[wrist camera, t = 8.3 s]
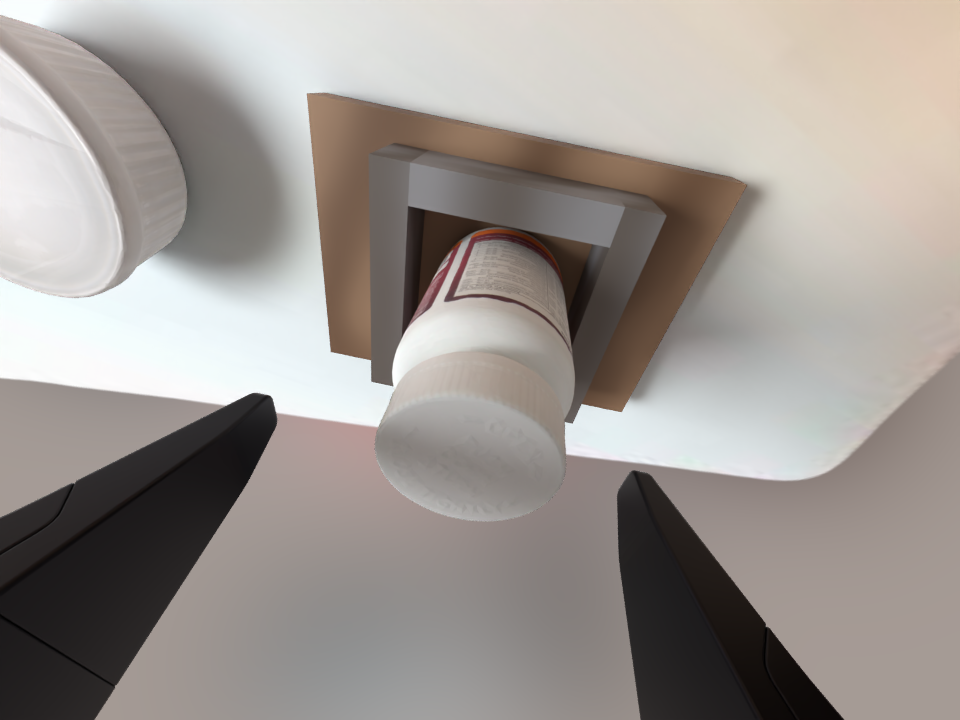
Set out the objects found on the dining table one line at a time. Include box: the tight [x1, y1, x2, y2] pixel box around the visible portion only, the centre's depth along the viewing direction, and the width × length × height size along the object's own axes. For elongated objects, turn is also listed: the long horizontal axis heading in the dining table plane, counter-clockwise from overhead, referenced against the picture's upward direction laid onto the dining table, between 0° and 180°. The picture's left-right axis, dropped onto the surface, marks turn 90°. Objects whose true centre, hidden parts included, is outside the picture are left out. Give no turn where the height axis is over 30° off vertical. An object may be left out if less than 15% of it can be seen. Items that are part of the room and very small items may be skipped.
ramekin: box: [0, 15, 187, 298], centre depth 17 cm, size 11×11×5 cm
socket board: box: [307, 93, 747, 423], centre depth 18 cm, size 18×13×4 cm
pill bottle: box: [375, 227, 575, 521], centre depth 15 cm, size 6×6×11 cm
